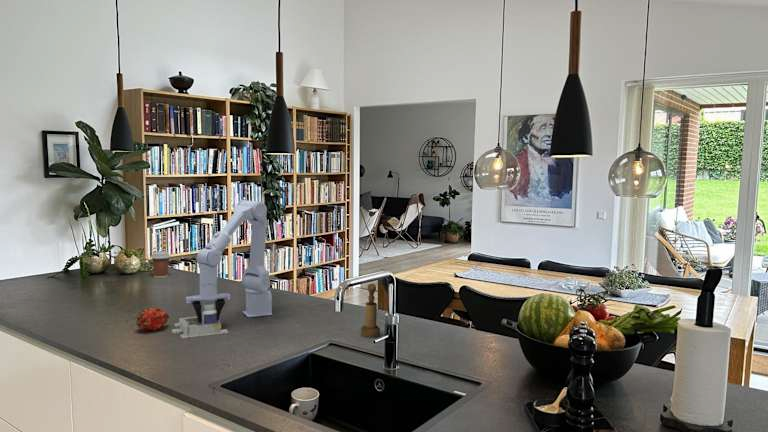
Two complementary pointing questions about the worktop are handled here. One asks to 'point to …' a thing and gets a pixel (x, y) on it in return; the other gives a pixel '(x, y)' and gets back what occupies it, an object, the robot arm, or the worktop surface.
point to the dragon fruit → (152, 319)
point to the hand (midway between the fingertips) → (208, 321)
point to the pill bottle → (208, 313)
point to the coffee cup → (160, 264)
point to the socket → (197, 328)
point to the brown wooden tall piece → (370, 316)
